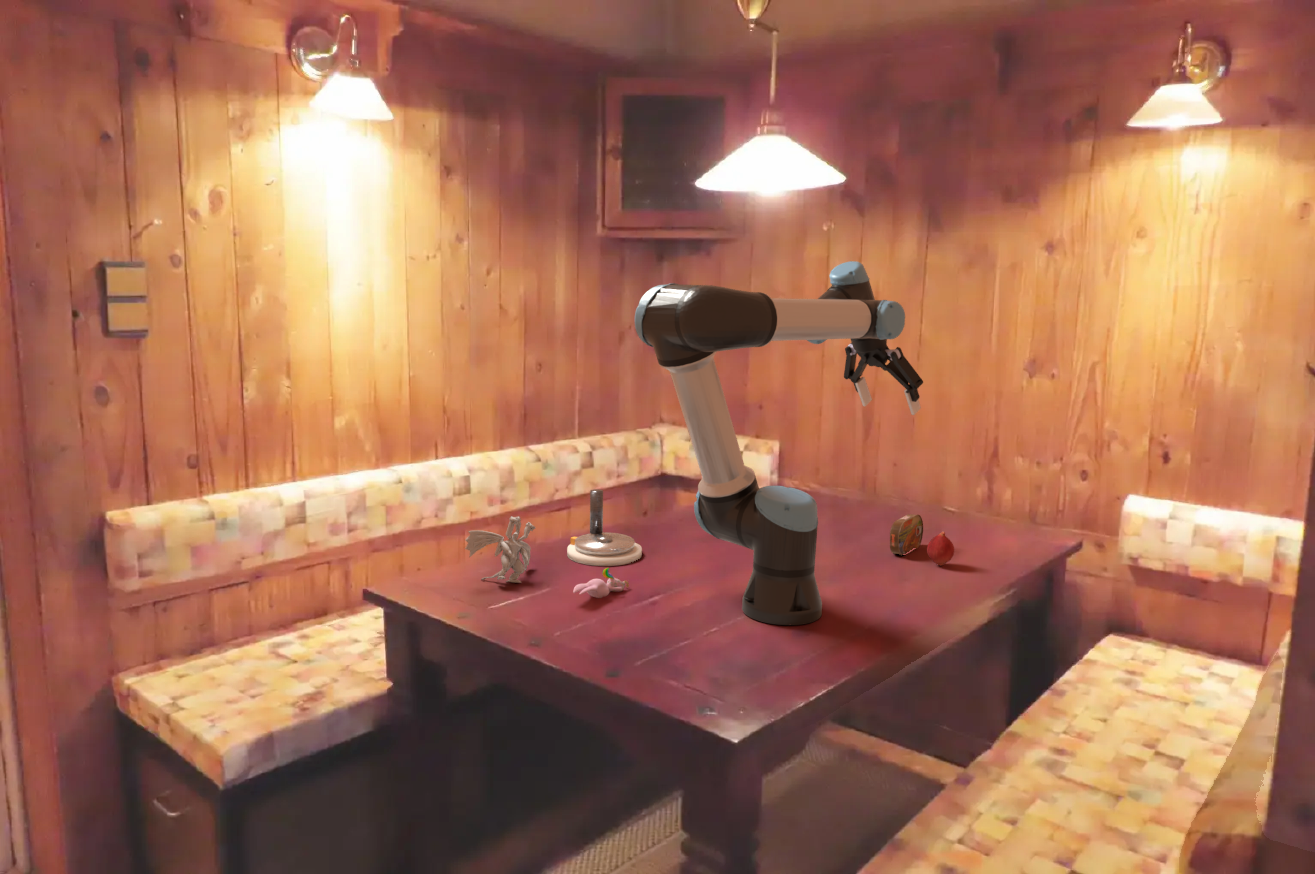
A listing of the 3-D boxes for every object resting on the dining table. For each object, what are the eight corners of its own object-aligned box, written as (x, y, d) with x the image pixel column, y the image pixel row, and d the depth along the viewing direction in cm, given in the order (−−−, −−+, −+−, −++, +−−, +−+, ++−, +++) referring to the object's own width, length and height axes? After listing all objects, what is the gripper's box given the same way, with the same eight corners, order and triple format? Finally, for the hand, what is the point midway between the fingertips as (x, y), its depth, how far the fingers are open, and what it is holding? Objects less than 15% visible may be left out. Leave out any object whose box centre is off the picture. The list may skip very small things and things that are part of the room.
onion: (923, 567, 205) (926, 532, 203) (928, 560, 210) (931, 526, 208) (950, 571, 202) (953, 536, 201) (955, 564, 207) (957, 530, 206)
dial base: (620, 570, 198) (620, 557, 197) (553, 558, 205) (553, 546, 204) (654, 550, 213) (654, 537, 212) (590, 540, 220) (590, 528, 219)
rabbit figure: (610, 590, 189) (563, 598, 177) (613, 562, 189) (566, 568, 176) (634, 597, 185) (588, 605, 173) (637, 568, 185) (591, 574, 173)
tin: (898, 559, 210) (901, 524, 209) (885, 557, 212) (888, 522, 210) (923, 545, 222) (925, 512, 220) (910, 543, 224) (913, 509, 222)
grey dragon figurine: (453, 574, 185) (463, 507, 189) (519, 589, 198) (527, 526, 202) (484, 573, 178) (494, 504, 182) (550, 588, 191) (558, 523, 195)
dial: (643, 552, 205) (644, 501, 203) (585, 558, 200) (586, 505, 198) (621, 535, 218) (621, 487, 216) (566, 540, 213) (566, 491, 211)
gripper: (923, 323, 191) (947, 405, 201) (831, 316, 210) (857, 390, 220) (903, 343, 188) (928, 425, 198) (812, 334, 207) (839, 408, 217)
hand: (891, 407), depth 209 cm, fingers open, 13 cm apart
